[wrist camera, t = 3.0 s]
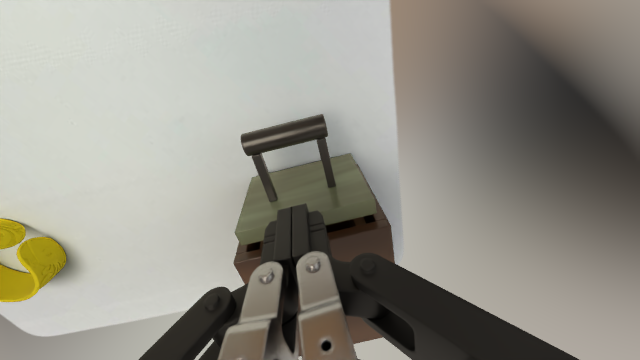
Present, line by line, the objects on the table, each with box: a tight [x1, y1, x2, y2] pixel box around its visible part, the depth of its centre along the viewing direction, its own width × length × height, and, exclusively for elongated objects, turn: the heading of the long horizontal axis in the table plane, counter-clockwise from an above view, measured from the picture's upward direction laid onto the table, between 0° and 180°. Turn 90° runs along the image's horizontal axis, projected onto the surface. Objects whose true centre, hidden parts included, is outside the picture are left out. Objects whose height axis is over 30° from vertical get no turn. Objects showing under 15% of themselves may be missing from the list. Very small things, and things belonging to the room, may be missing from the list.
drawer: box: [235, 114, 377, 249], centre depth 21 cm, size 17×9×8 cm, turn 13°
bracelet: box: [0, 219, 66, 302], centre depth 24 cm, size 7×8×3 cm
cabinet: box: [234, 164, 395, 357], centre depth 23 cm, size 13×11×10 cm
